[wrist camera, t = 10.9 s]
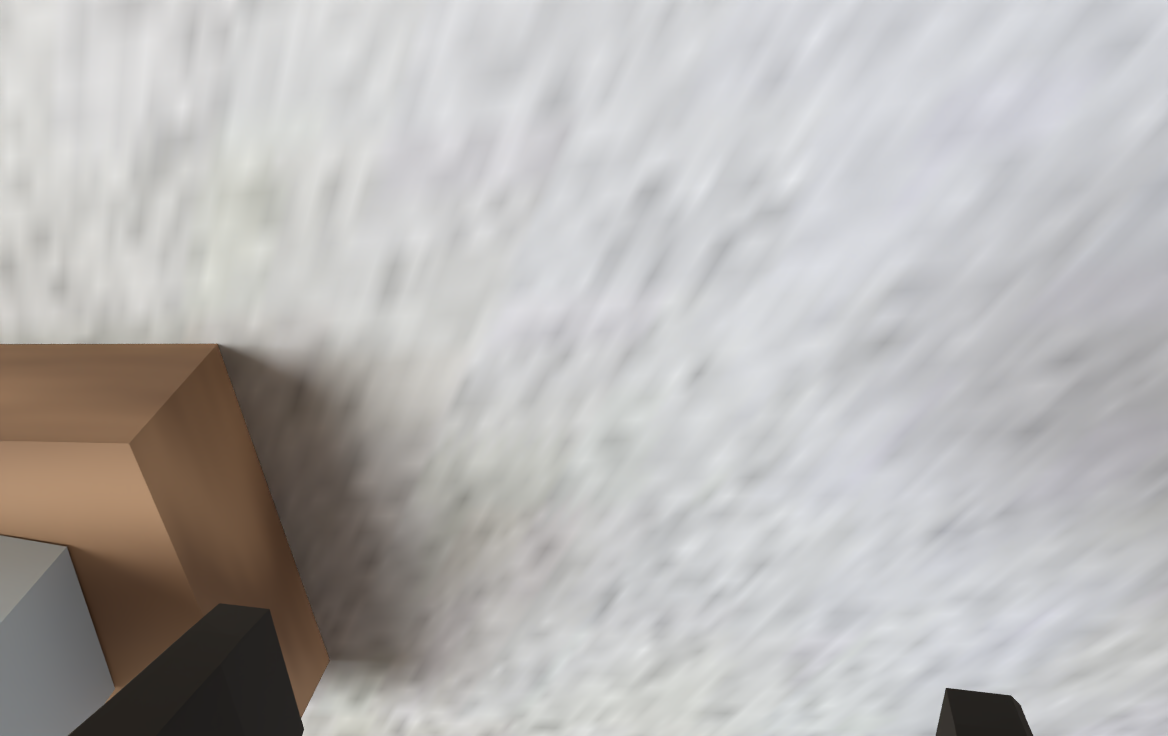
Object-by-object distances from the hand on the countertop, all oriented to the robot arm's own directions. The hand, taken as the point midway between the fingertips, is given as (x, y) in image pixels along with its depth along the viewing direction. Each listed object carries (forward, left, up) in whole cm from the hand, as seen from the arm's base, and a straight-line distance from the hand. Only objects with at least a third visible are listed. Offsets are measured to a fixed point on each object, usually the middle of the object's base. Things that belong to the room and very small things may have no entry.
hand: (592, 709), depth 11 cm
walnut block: (-8, +15, -11) cm, 20 cm away
